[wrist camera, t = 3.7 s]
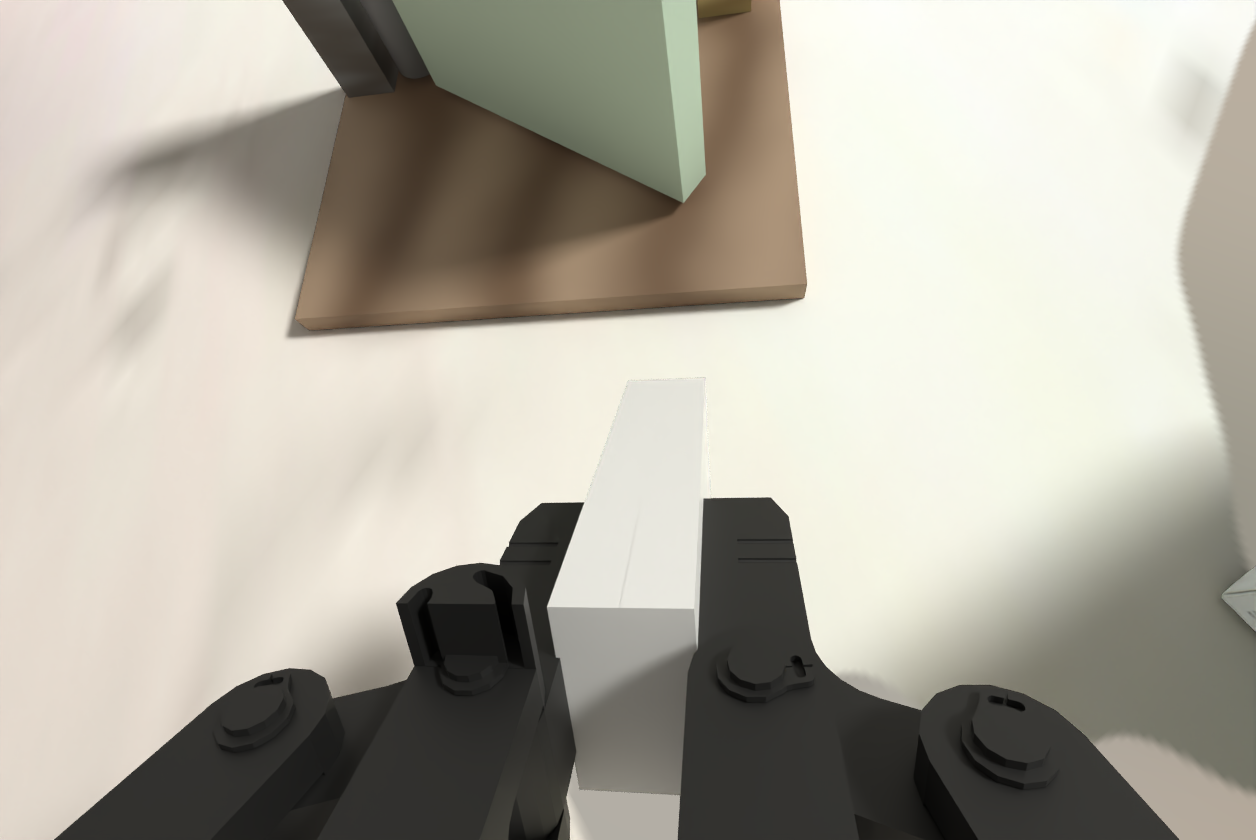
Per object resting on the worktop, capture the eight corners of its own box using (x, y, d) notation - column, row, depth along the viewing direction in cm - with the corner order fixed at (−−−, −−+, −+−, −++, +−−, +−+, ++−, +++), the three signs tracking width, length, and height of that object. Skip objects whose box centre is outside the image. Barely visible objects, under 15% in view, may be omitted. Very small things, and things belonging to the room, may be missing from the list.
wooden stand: (309, 330, 28) (-10, 78, 16) (372, 39, 34) (176, -299, 22) (804, 298, 25) (870, -45, 13) (774, -16, 31) (800, -444, 19)
